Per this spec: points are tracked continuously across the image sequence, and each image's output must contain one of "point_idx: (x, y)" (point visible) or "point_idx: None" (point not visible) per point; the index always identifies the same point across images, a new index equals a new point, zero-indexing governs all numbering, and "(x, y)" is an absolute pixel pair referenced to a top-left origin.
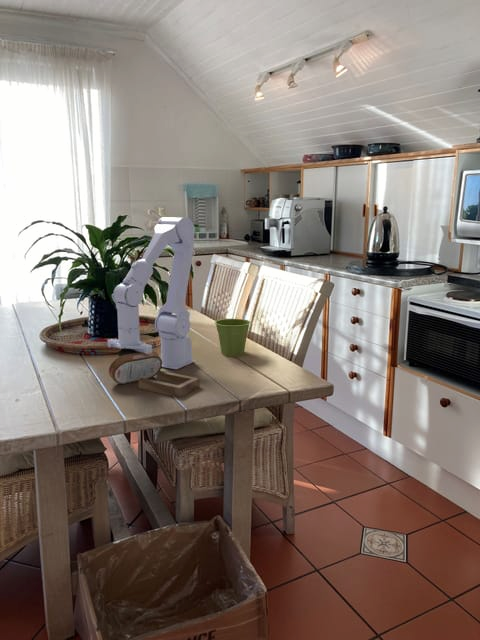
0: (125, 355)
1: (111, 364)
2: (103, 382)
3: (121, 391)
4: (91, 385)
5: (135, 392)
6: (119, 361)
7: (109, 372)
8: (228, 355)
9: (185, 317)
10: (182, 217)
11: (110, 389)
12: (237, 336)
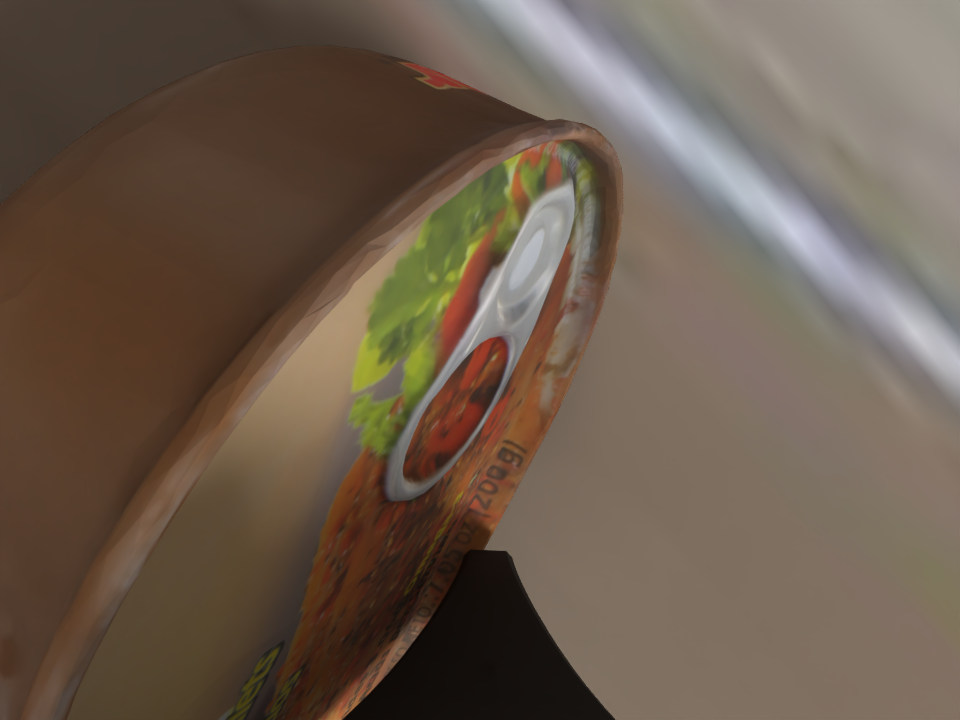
0: (30, 697)
1: (515, 133)
2: (793, 280)
3: None
4: (892, 60)
5: (23, 147)
6: (116, 221)
7: (597, 161)
8: None
9: None
10: None
11: (462, 60)
12: None
